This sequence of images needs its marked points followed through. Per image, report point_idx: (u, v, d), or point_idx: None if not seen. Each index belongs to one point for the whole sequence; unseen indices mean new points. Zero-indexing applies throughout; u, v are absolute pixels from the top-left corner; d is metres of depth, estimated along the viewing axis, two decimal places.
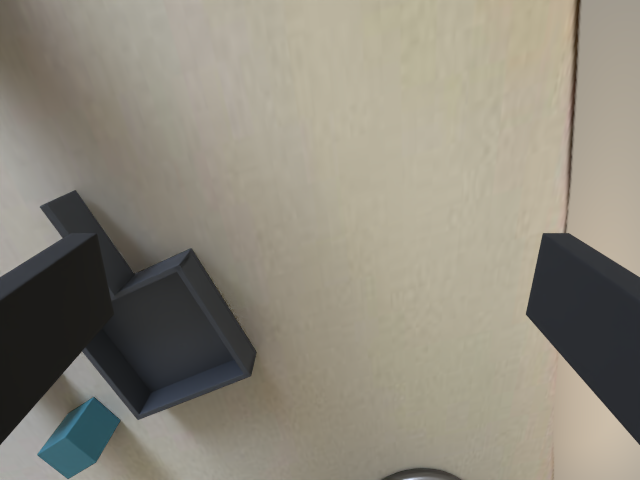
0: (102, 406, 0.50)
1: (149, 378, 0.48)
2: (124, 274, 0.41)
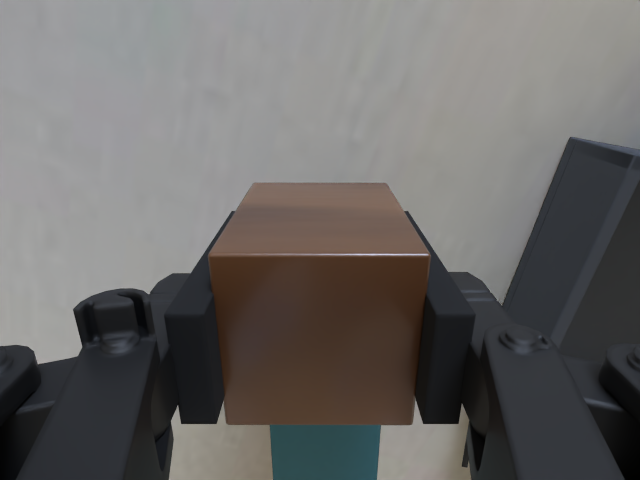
0: None
1: None
2: None
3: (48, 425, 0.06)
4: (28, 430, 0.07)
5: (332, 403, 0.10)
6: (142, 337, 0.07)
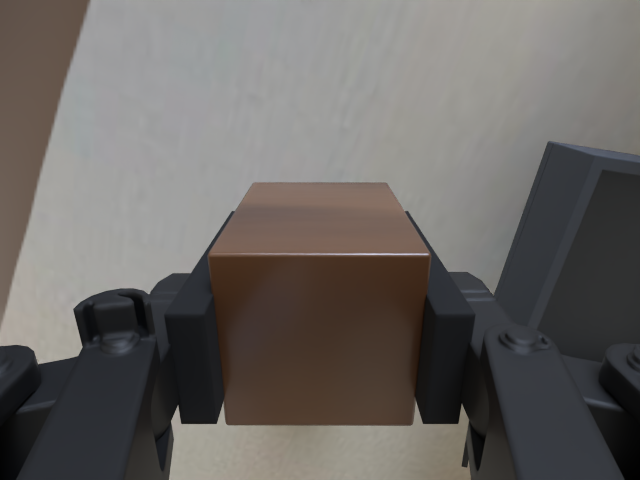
0: None
1: None
2: None
3: (48, 425, 0.06)
4: (28, 431, 0.07)
5: (332, 403, 0.10)
6: (142, 337, 0.07)
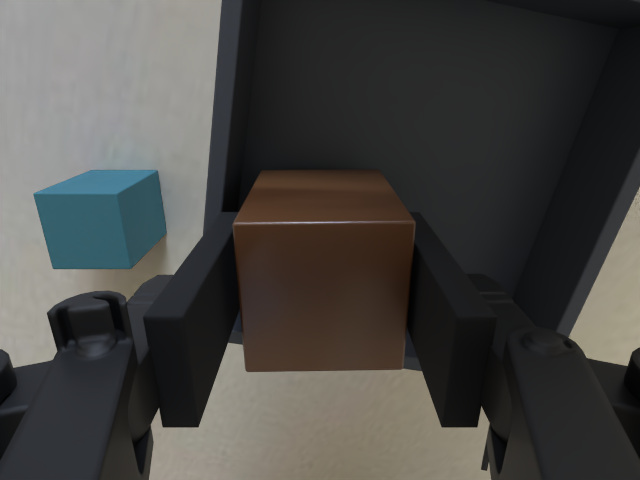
0: (159, 193, 0.28)
1: None
2: None
3: (21, 431, 0.05)
4: (1, 435, 0.07)
5: (335, 351, 0.11)
6: (119, 340, 0.07)
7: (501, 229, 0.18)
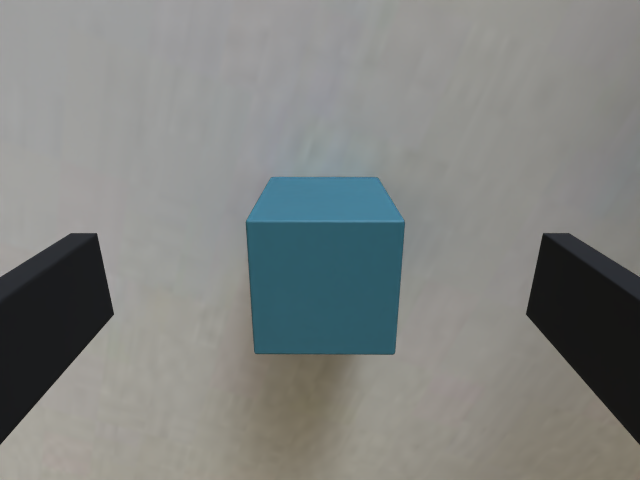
0: None
1: None
2: None
3: None
4: None
5: None
6: None
7: None
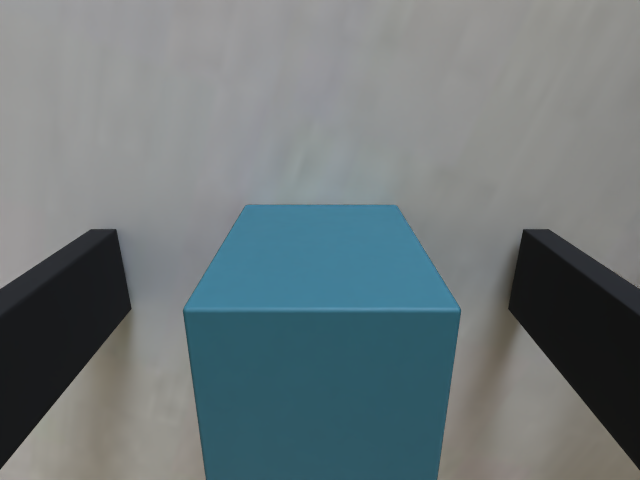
0: None
1: None
2: None
3: None
4: None
5: None
6: None
7: None
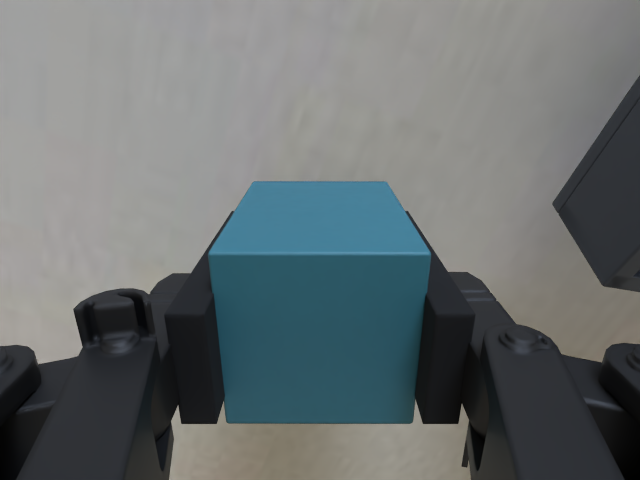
0: None
1: None
2: None
3: (48, 425, 0.06)
4: (28, 430, 0.07)
5: None
6: (142, 337, 0.07)
7: None
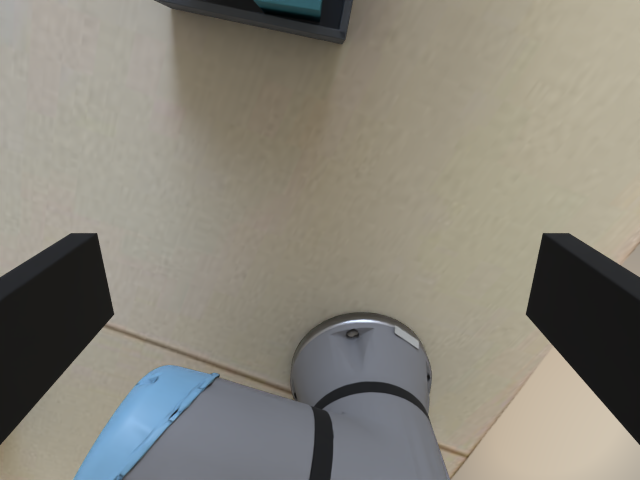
0: None
1: None
2: None
3: None
4: None
5: None
6: None
7: None
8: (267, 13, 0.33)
